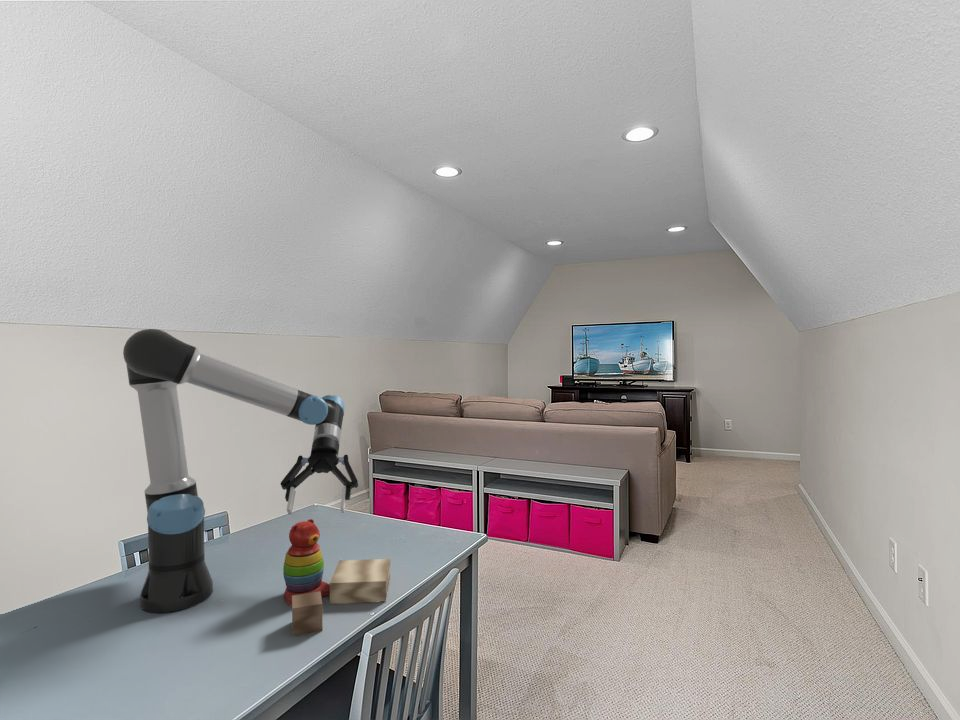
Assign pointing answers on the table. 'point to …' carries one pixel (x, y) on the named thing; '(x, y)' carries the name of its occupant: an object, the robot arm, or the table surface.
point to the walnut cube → (306, 613)
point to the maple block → (360, 581)
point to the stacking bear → (304, 562)
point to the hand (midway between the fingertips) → (315, 511)
